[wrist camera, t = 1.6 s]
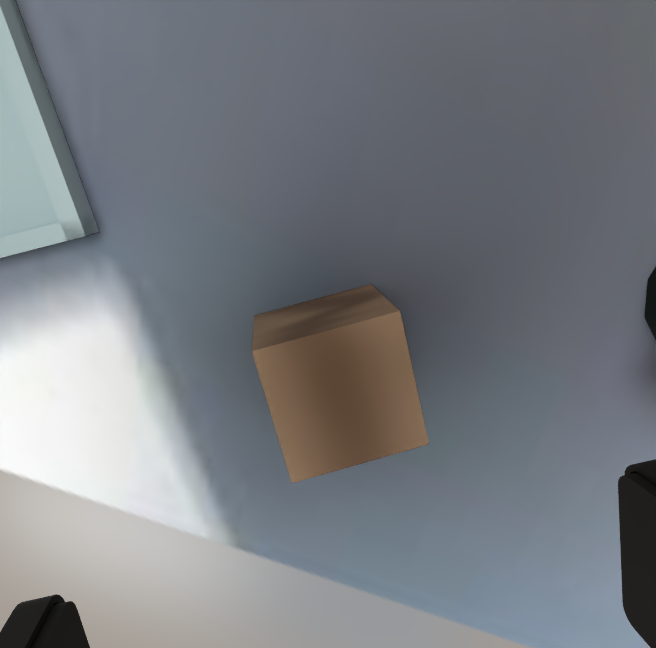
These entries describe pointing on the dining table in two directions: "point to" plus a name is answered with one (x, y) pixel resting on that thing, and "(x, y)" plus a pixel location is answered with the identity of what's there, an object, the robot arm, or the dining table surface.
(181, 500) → the dining table surface
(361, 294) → the cube
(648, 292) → the wine bottle
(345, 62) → the dining table surface
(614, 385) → the dining table surface
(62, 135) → the tray
